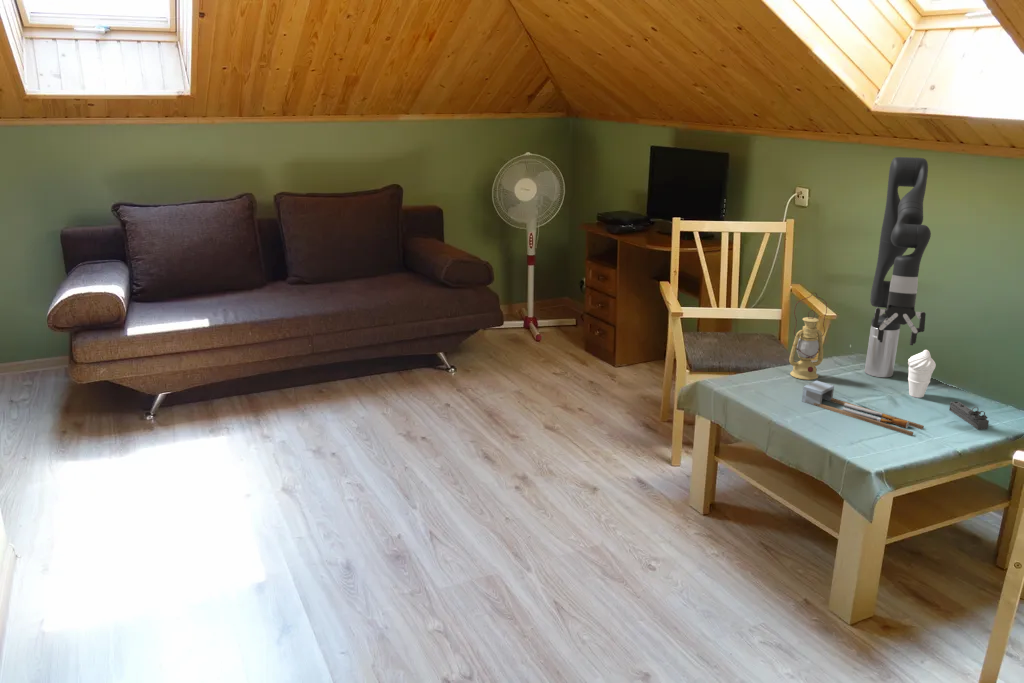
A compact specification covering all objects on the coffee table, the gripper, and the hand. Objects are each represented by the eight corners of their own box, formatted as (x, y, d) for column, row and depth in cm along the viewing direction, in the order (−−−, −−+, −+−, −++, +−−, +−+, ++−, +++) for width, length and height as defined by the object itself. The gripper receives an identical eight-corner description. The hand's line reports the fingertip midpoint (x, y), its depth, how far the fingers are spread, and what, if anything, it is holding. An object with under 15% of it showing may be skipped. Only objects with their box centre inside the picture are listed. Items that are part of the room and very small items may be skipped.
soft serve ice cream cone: (905, 398, 266) (912, 352, 261) (900, 389, 274) (907, 344, 269) (933, 401, 264) (941, 354, 259) (927, 391, 272) (934, 346, 267)
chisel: (909, 421, 245) (906, 420, 243) (907, 430, 245) (904, 429, 243) (848, 403, 258) (844, 402, 256) (845, 412, 258) (841, 411, 256)
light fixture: (958, 410, 257) (961, 394, 256) (987, 430, 243) (990, 413, 242) (948, 411, 257) (951, 394, 256) (976, 430, 243) (980, 413, 241)
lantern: (792, 381, 281) (802, 296, 272) (782, 371, 291) (791, 289, 281) (826, 380, 282) (837, 296, 272) (815, 370, 291) (825, 289, 282)
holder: (814, 395, 269) (816, 380, 267) (923, 428, 244) (926, 412, 242) (801, 401, 264) (803, 386, 262) (911, 435, 239) (914, 419, 237)
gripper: (927, 291, 248) (920, 344, 251) (876, 287, 252) (869, 339, 255) (930, 294, 241) (923, 348, 244) (878, 290, 245) (871, 343, 248)
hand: (895, 343), depth 249 cm, fingers open, 8 cm apart
